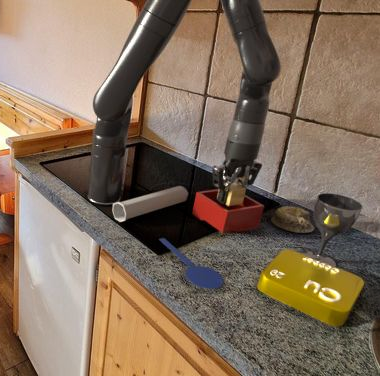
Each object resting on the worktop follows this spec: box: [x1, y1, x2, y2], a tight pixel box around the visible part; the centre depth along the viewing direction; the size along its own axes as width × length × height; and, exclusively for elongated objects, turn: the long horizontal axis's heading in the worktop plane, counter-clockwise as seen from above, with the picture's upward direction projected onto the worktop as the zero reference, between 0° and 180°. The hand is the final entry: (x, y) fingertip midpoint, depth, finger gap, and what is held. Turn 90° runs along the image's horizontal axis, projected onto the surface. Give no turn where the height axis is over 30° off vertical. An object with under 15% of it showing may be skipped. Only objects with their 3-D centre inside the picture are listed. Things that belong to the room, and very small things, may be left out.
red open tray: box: [191, 188, 265, 234], centre depth 106 cm, size 12×12×7 cm
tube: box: [111, 185, 189, 223], centre depth 111 cm, size 5×5×25 cm
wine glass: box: [300, 192, 363, 267], centre depth 89 cm, size 8×8×15 cm
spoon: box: [158, 237, 224, 290], centre depth 89 cm, size 19×8×1 cm, turn 20°
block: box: [217, 181, 247, 206], centre depth 104 cm, size 4×4×4 cm
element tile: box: [256, 248, 365, 327], centre depth 80 cm, size 15×15×5 cm
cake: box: [270, 206, 315, 234], centre depth 105 cm, size 10×10×5 cm
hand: (229, 200), depth 105 cm, fingers closed on block, 4 cm apart
